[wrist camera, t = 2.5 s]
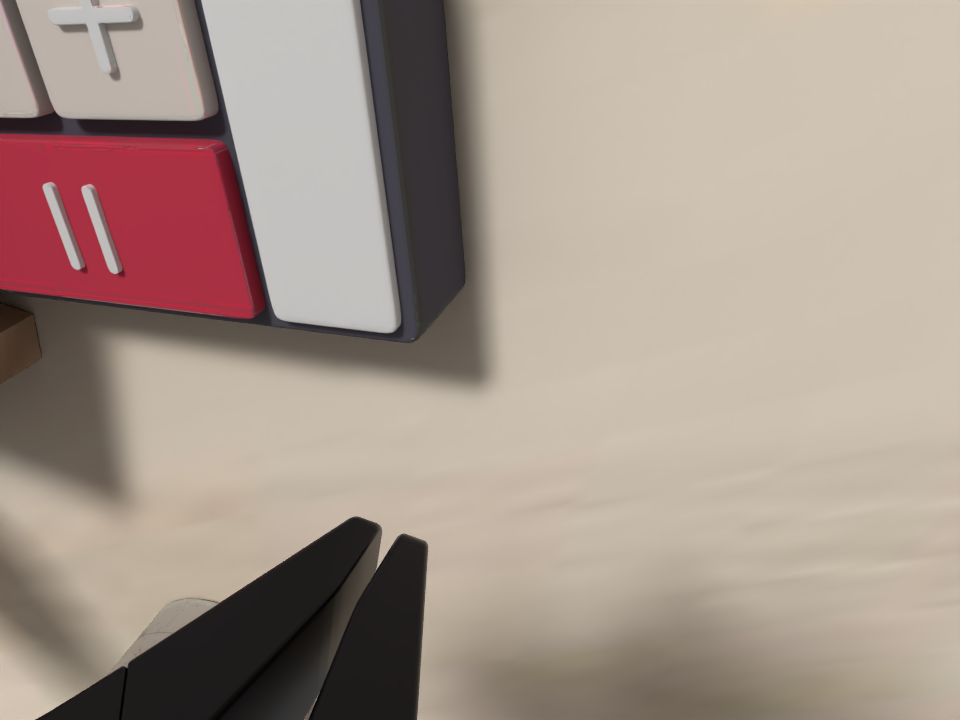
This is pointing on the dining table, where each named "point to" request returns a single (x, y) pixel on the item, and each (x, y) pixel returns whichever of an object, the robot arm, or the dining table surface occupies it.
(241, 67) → the calculator
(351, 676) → the robot arm
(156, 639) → the thermos bottle
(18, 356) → the overhang shelf
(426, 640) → the dining table surface
